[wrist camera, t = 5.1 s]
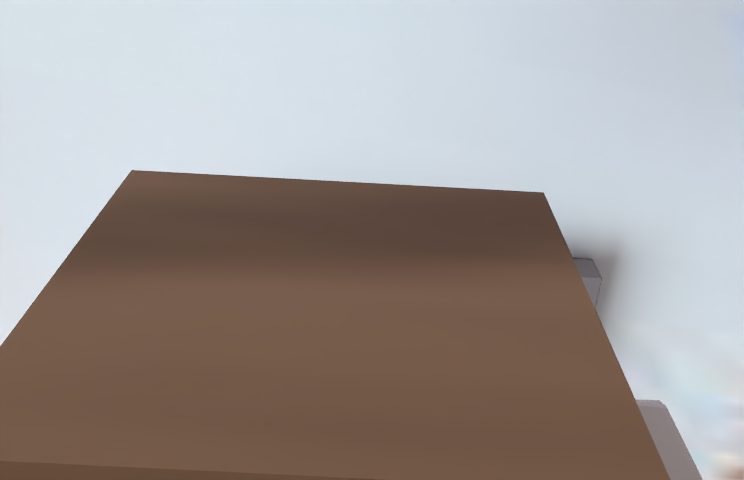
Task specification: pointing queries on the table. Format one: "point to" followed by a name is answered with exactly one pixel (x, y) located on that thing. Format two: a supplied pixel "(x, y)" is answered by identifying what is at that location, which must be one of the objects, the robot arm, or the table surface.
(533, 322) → the walnut brick
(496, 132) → the table surface
